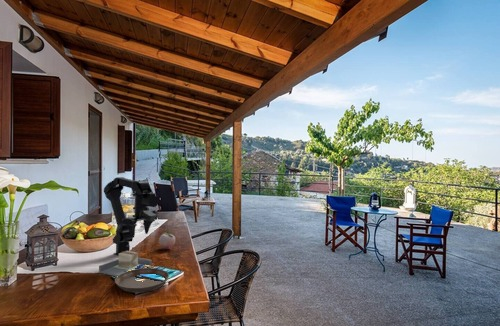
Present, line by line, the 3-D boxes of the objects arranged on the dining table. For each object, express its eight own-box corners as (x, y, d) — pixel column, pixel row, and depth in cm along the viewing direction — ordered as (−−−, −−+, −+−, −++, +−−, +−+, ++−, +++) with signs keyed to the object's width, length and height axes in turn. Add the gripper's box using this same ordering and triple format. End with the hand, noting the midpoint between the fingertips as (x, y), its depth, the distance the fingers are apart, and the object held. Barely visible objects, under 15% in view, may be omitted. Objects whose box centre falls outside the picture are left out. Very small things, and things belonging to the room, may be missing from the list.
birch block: (129, 268, 140) (130, 255, 140) (118, 266, 143) (118, 253, 143) (137, 265, 144) (138, 252, 144) (126, 263, 147) (126, 250, 147)
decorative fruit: (155, 250, 173) (155, 232, 173) (164, 246, 181) (164, 229, 181) (168, 252, 170) (169, 234, 170) (177, 248, 177) (178, 231, 177)
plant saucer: (167, 293, 117) (167, 285, 117) (109, 297, 112) (109, 288, 112) (170, 274, 137) (170, 267, 137) (121, 276, 133) (121, 269, 133)
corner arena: (98, 272, 136) (99, 265, 137) (128, 261, 152) (128, 255, 152) (124, 278, 131) (124, 271, 131) (151, 266, 146) (151, 260, 146)
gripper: (139, 208, 145) (138, 241, 145) (165, 204, 162) (164, 233, 162) (121, 206, 150) (121, 238, 150) (149, 202, 167) (148, 231, 167)
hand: (139, 235), depth 157 cm, fingers open, 9 cm apart
